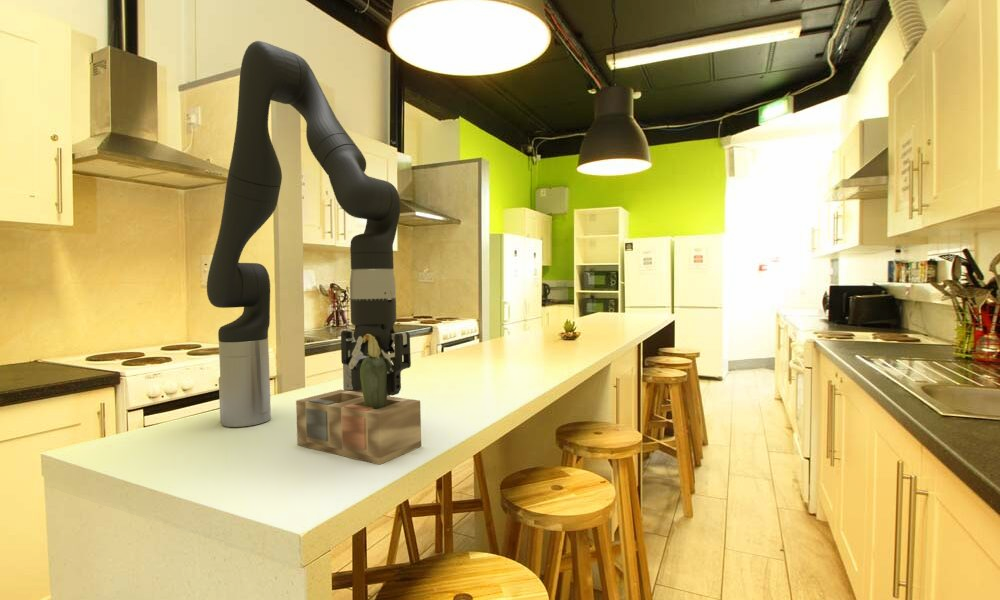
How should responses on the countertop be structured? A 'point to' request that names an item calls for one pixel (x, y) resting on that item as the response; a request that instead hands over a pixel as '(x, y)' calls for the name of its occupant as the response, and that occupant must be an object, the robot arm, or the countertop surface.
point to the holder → (358, 426)
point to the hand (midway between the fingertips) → (375, 392)
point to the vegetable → (373, 376)
